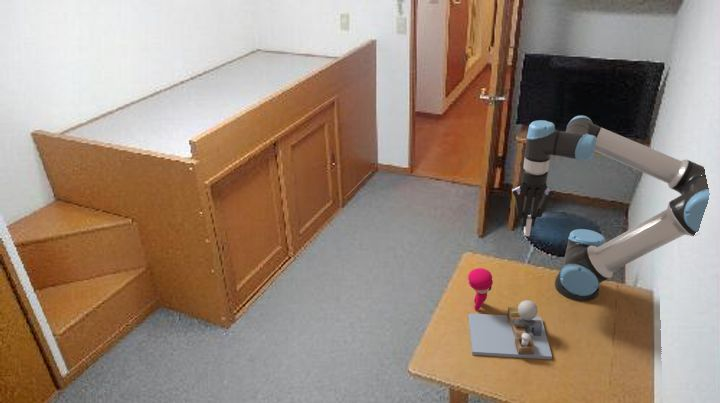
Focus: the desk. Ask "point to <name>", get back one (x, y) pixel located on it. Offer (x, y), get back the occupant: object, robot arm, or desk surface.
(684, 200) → the robot arm
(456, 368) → the desk surface
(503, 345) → the board
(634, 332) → the desk surface
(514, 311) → the link
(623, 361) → the desk surface
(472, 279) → the toy
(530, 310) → the lightbulb
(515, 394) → the desk surface
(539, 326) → the keeper
